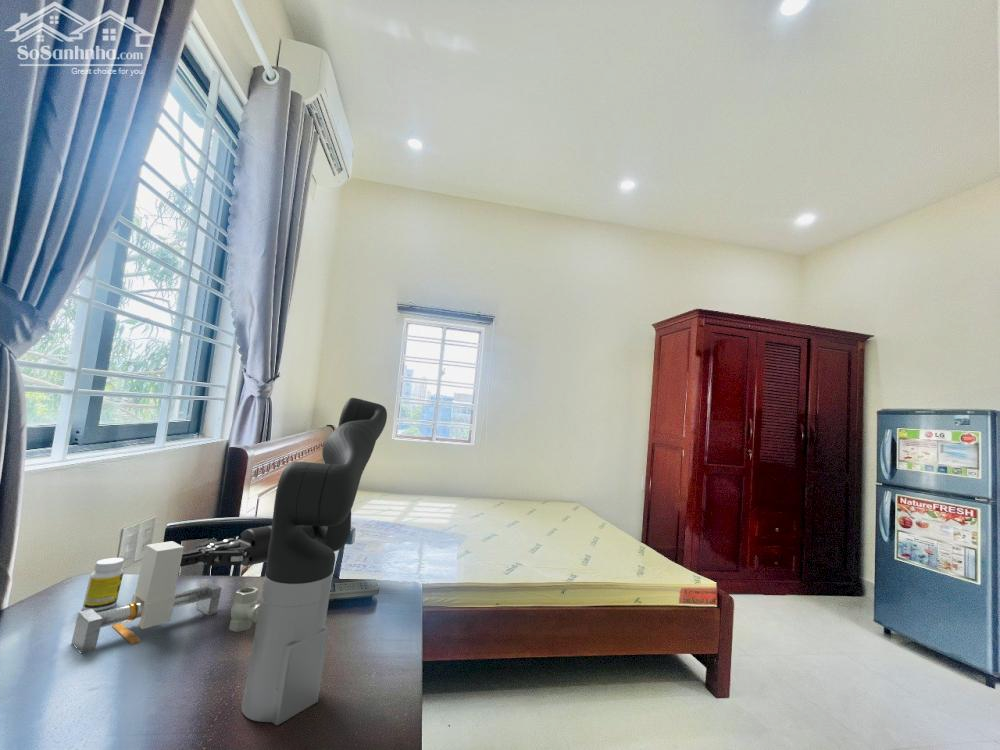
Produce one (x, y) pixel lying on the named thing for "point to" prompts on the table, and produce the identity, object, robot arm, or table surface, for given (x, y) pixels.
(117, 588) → the supplement bottle
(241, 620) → the valve
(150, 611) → the tall white pillar block
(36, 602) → the table surface
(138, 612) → the rail
